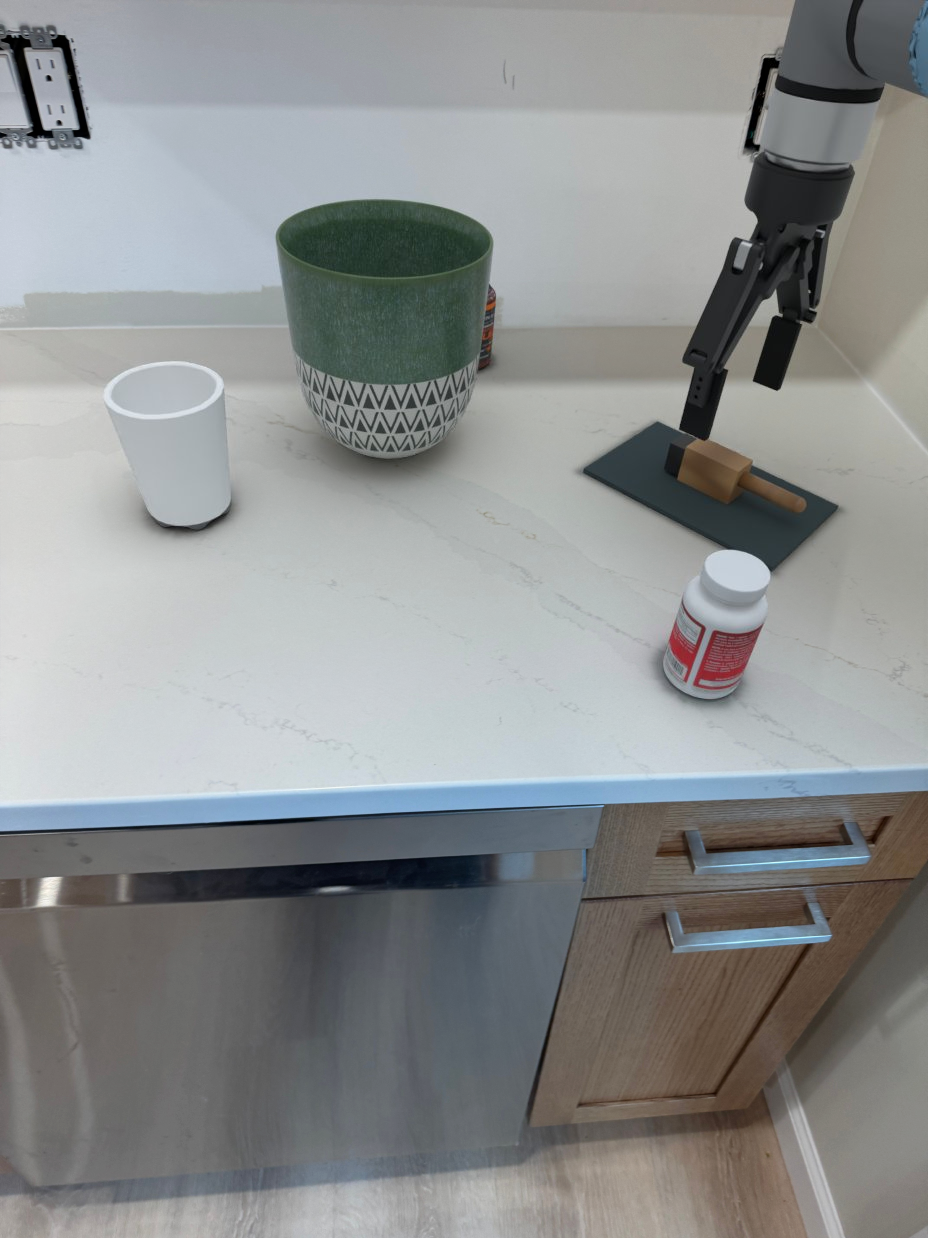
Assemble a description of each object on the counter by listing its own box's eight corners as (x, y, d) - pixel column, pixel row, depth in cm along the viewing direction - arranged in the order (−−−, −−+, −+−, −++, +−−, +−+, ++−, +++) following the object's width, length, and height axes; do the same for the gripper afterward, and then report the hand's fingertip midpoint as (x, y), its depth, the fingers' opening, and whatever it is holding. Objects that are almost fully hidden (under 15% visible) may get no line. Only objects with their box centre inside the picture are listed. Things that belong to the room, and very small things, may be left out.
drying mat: (837, 509, 84) (838, 505, 83) (771, 571, 76) (773, 567, 76) (656, 424, 94) (657, 420, 94) (582, 471, 86) (583, 467, 86)
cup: (147, 551, 74) (111, 427, 65) (128, 491, 80) (94, 370, 71) (256, 526, 77) (236, 404, 68) (230, 470, 83) (209, 352, 74)
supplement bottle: (479, 376, 100) (485, 283, 92) (435, 364, 102) (437, 272, 94) (498, 356, 104) (506, 265, 96) (456, 345, 106) (460, 255, 98)
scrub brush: (803, 522, 81) (817, 489, 78) (789, 536, 79) (803, 502, 76) (677, 461, 88) (686, 428, 85) (662, 472, 86) (670, 439, 83)
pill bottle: (749, 668, 67) (794, 565, 59) (720, 714, 63) (763, 611, 56) (680, 634, 69) (714, 531, 62) (648, 677, 66) (680, 573, 58)
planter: (301, 395, 95) (282, 195, 80) (469, 395, 96) (481, 200, 82) (291, 495, 81) (266, 276, 66) (487, 493, 83) (506, 280, 68)
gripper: (831, 123, 71) (759, 354, 86) (676, 175, 57) (622, 440, 72) (917, 141, 68) (827, 379, 82) (773, 202, 54) (696, 475, 68)
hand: (731, 408), depth 77 cm, fingers open, 13 cm apart
